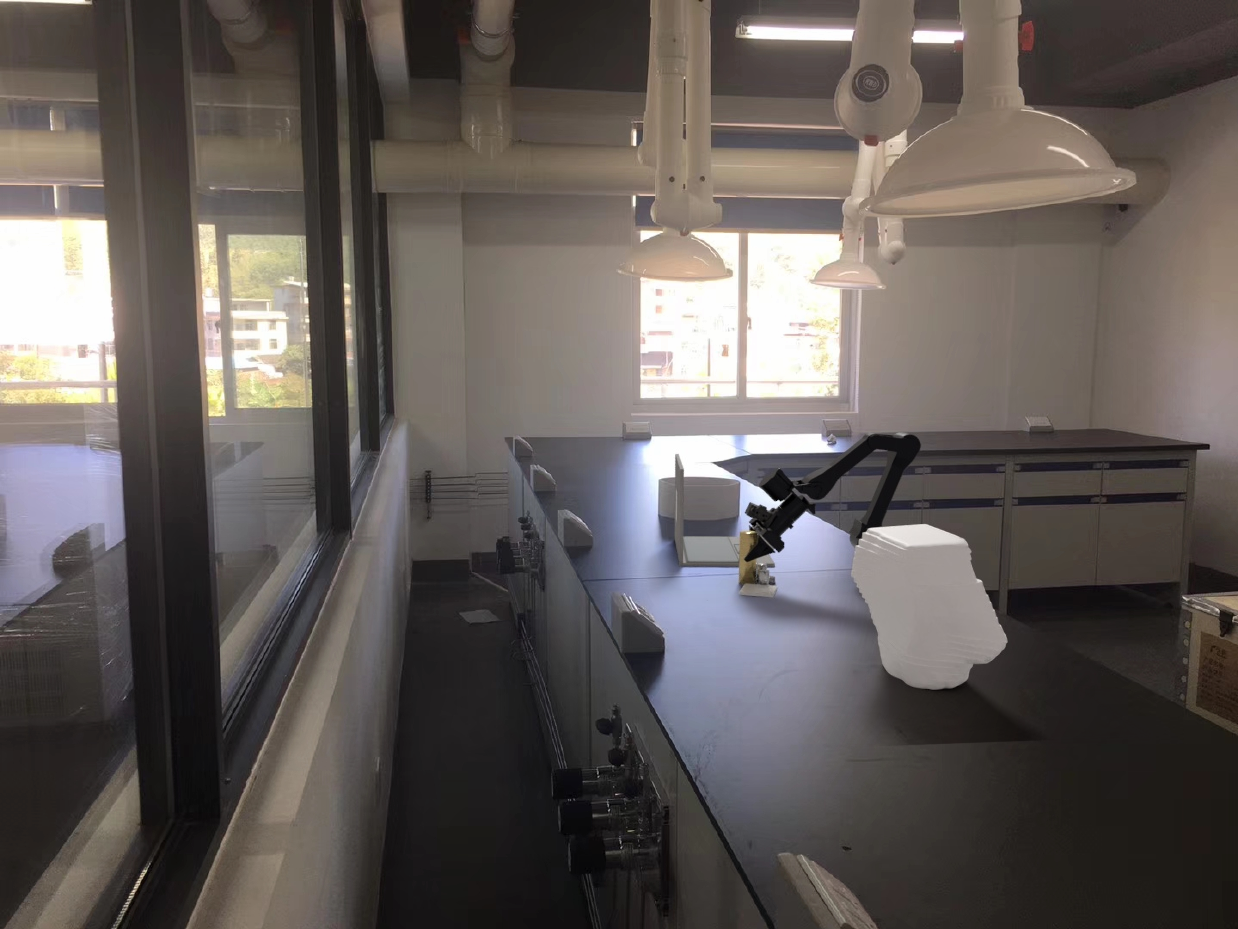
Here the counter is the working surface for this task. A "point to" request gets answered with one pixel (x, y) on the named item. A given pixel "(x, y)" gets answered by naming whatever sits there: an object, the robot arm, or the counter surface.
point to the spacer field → (764, 575)
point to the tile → (758, 590)
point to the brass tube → (745, 545)
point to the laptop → (703, 538)
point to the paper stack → (926, 604)
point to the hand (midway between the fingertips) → (742, 557)
